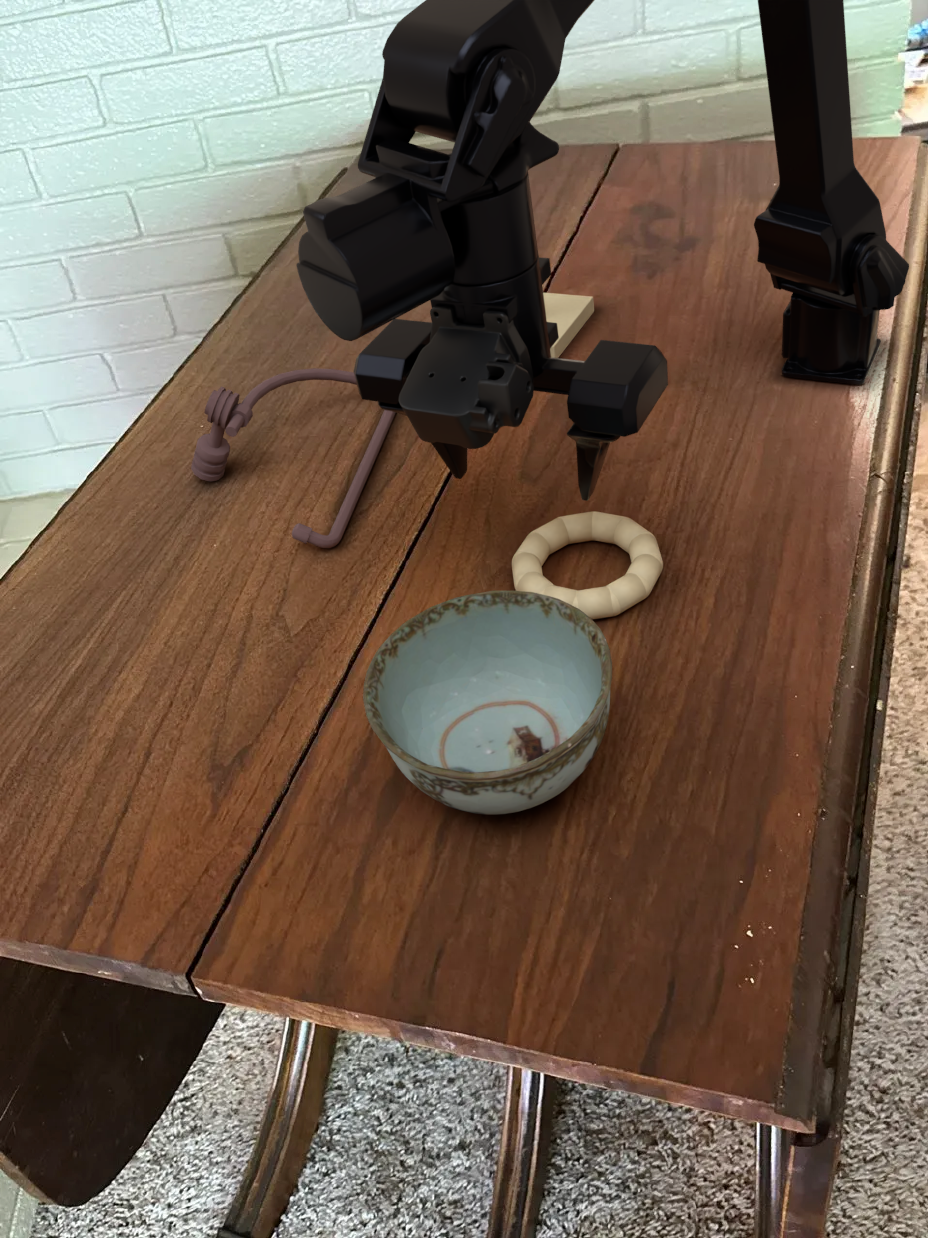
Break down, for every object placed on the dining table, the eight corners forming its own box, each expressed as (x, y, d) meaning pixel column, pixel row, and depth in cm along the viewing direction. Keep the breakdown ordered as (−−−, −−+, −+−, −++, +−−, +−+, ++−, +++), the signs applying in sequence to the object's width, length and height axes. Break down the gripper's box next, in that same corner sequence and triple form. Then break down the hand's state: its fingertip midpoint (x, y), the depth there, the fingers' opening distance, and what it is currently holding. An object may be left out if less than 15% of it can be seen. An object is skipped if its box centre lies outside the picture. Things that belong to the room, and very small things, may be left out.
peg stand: (594, 311, 100) (588, 244, 96) (555, 361, 95) (547, 292, 91) (507, 303, 104) (498, 238, 100) (465, 351, 99) (454, 285, 95)
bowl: (666, 811, 59) (660, 714, 53) (436, 905, 57) (405, 814, 52) (566, 654, 69) (552, 558, 63) (366, 729, 67) (335, 637, 61)
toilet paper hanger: (340, 540, 79) (159, 463, 77) (311, 610, 85) (142, 540, 83) (409, 380, 94) (259, 312, 92) (380, 449, 100) (239, 387, 98)
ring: (682, 542, 75) (681, 520, 73) (630, 640, 69) (628, 617, 67) (550, 518, 79) (547, 496, 78) (490, 608, 73) (486, 586, 72)
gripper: (274, 318, 60) (341, 536, 70) (586, 352, 52) (610, 593, 62) (375, 228, 66) (423, 440, 77) (666, 246, 58) (675, 480, 69)
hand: (522, 485), depth 71 cm, fingers open, 9 cm apart
